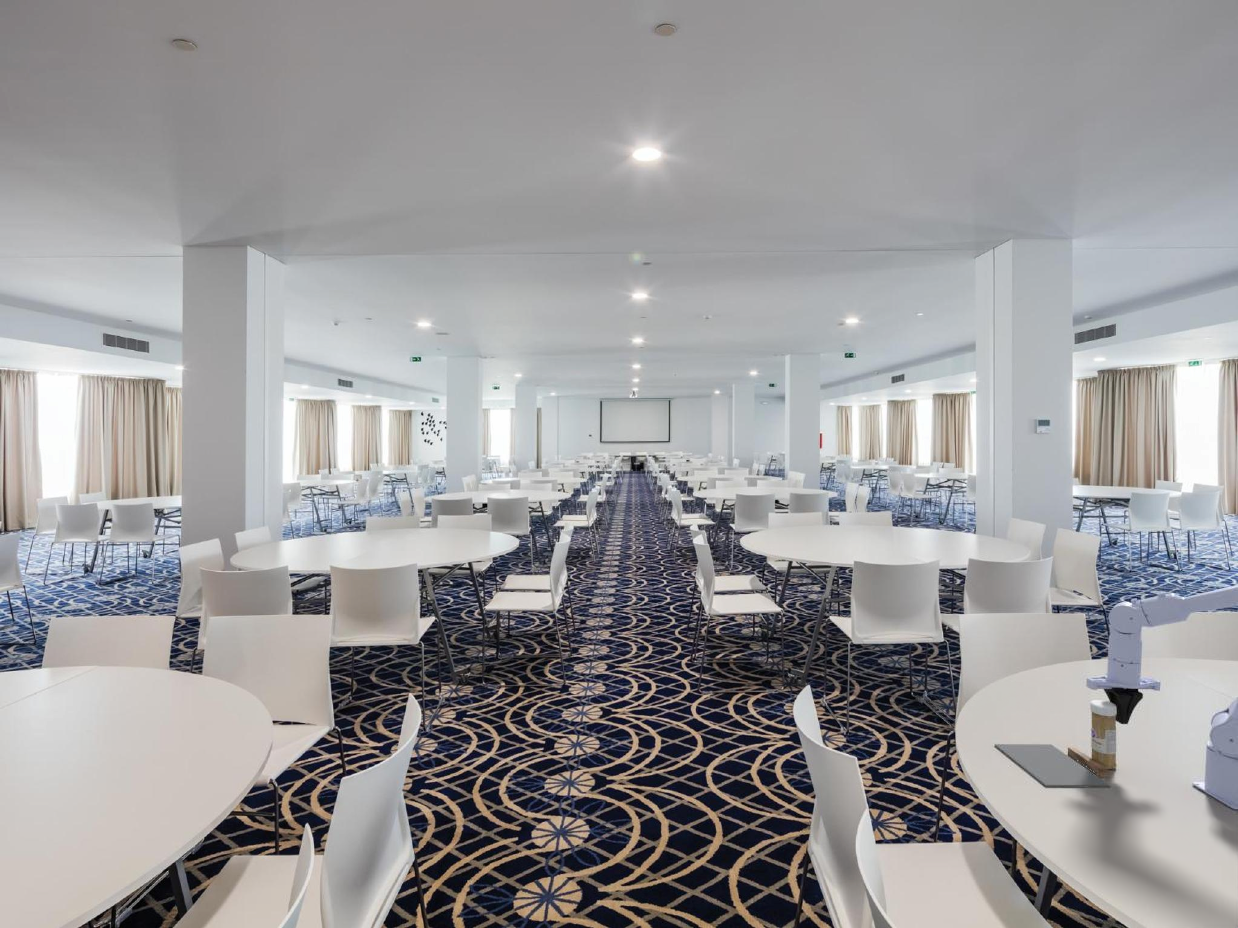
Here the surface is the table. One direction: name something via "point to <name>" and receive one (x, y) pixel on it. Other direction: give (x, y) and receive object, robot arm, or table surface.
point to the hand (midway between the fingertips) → (1121, 722)
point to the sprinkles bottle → (1103, 733)
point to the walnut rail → (1088, 762)
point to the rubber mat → (1050, 765)
